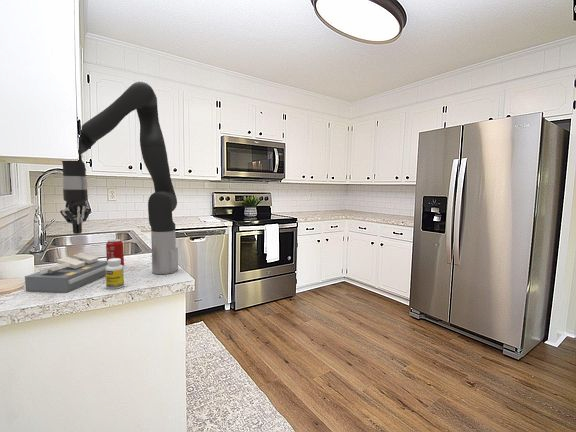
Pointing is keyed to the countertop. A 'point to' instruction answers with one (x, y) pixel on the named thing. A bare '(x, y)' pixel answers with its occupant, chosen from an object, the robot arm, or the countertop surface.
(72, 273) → the console
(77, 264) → the rocker
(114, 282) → the supplement bottle
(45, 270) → the rocker
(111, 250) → the beverage can
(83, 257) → the rocker
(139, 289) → the countertop surface
